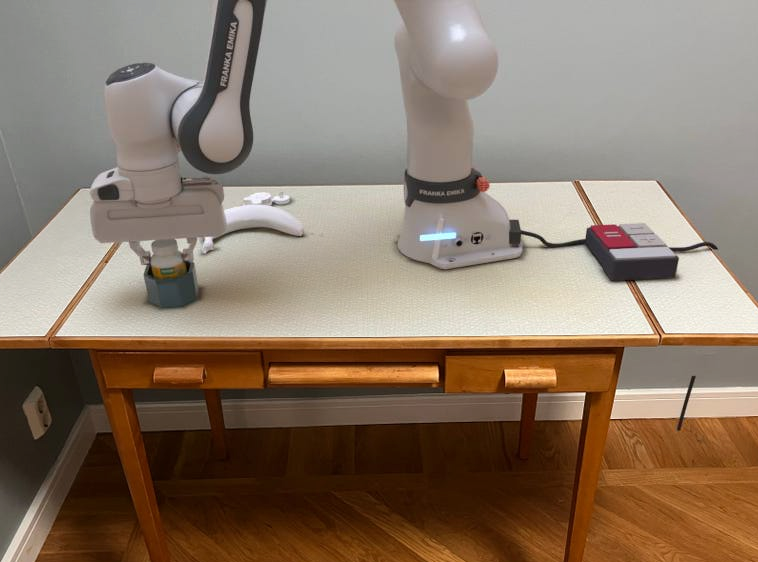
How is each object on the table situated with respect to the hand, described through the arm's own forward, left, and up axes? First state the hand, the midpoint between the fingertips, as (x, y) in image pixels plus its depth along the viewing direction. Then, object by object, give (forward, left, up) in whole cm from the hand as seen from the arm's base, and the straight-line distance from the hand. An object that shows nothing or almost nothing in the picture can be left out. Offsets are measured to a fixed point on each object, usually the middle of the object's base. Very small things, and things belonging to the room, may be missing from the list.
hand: (167, 262), depth 120 cm
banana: (-12, -20, -6) cm, 24 cm away
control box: (-78, -2, -6) cm, 78 cm away
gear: (-14, -35, -6) cm, 38 cm away
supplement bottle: (0, 0, -6) cm, 6 cm away
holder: (0, 0, -6) cm, 6 cm away
